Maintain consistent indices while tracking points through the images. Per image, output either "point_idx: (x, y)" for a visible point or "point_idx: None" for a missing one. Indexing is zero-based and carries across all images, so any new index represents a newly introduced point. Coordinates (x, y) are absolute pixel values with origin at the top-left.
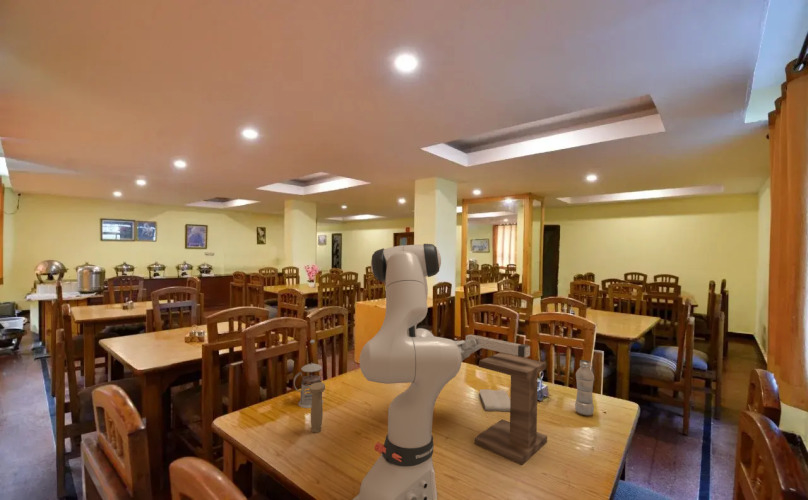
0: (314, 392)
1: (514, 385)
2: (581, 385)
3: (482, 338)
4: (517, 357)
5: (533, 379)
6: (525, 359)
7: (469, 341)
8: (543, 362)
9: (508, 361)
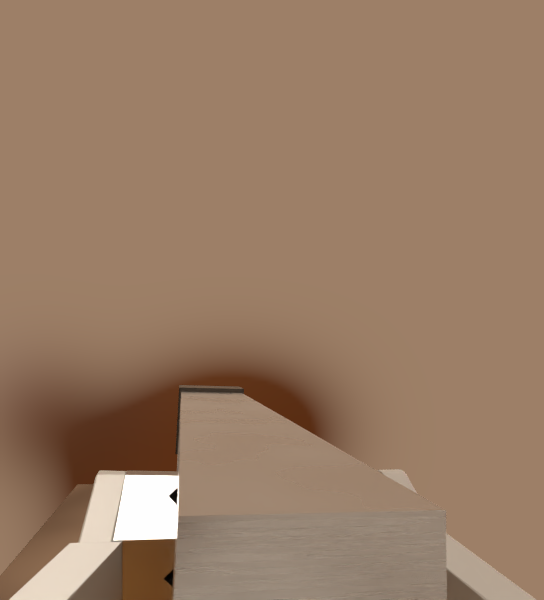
0: None
1: None
2: None
3: (277, 430)
4: (65, 541)
5: None
6: (84, 518)
7: (453, 539)
8: (81, 487)
9: None
